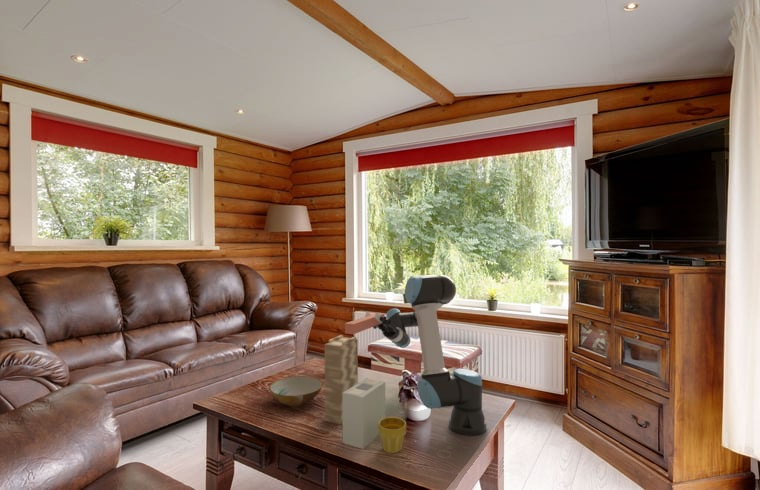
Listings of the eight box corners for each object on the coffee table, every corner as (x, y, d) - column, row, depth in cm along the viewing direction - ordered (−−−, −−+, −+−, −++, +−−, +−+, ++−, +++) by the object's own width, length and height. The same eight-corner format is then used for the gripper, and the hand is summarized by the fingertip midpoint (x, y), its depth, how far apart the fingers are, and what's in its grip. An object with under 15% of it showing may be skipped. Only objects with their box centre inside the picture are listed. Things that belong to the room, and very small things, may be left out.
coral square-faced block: (376, 321, 184) (376, 312, 184) (384, 322, 182) (384, 313, 182) (345, 333, 161) (344, 323, 161) (353, 334, 159) (353, 324, 159)
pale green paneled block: (366, 423, 170) (366, 377, 170) (385, 428, 166) (385, 381, 165) (342, 443, 154) (342, 392, 154) (362, 448, 150) (362, 396, 150)
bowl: (329, 406, 187) (329, 389, 187) (275, 417, 177) (275, 399, 176) (314, 388, 210) (314, 373, 210) (265, 396, 199) (265, 380, 199)
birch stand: (342, 407, 187) (342, 334, 186) (359, 411, 183) (359, 336, 182) (323, 420, 174) (322, 341, 173) (340, 424, 169) (340, 344, 169)
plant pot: (403, 458, 144) (402, 431, 144) (375, 453, 147) (375, 427, 147) (408, 443, 154) (408, 418, 154) (382, 440, 157) (382, 415, 156)
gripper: (406, 341, 187) (386, 325, 170) (375, 337, 196) (352, 321, 178) (410, 326, 191) (390, 308, 173) (378, 322, 199) (356, 305, 181)
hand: (371, 314), depth 175 cm, fingers closed on coral square-faced block, 4 cm apart
